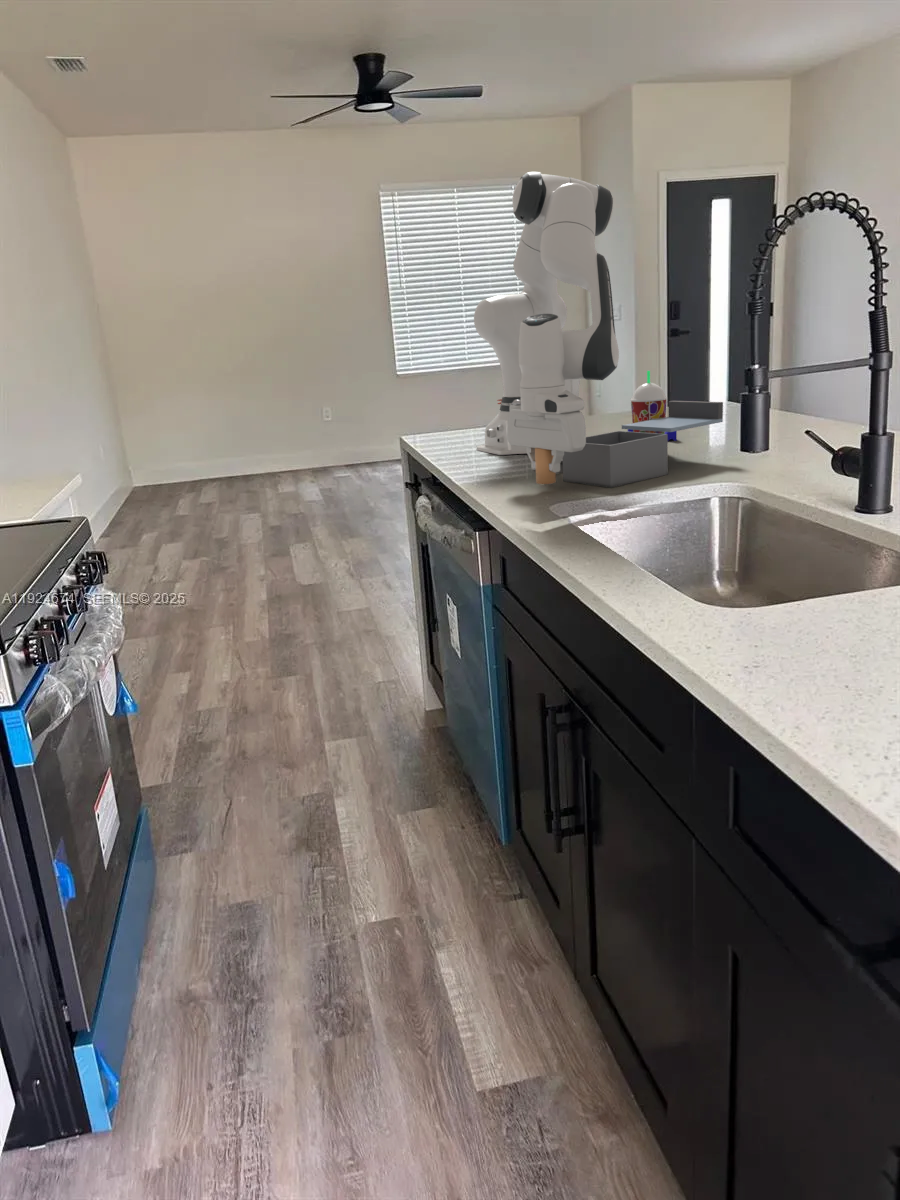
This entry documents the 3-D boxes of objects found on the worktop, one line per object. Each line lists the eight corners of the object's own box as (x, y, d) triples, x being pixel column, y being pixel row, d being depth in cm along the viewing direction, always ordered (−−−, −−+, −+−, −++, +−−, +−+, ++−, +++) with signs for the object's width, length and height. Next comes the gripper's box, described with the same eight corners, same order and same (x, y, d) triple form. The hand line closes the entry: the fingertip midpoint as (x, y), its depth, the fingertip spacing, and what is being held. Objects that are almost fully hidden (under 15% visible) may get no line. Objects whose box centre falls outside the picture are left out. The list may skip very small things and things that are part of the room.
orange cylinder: (532, 482, 176) (530, 448, 174) (546, 479, 179) (545, 445, 176) (545, 484, 173) (543, 449, 171) (560, 481, 175) (558, 447, 173)
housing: (563, 481, 186) (561, 441, 183) (619, 468, 195) (618, 430, 192) (610, 487, 175) (609, 445, 172) (667, 474, 184) (667, 434, 181)
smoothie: (670, 457, 205) (670, 370, 198) (635, 460, 205) (634, 373, 199) (662, 452, 212) (662, 368, 206) (628, 455, 213) (627, 371, 207)
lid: (621, 428, 193) (621, 409, 192) (672, 419, 202) (672, 400, 201) (670, 432, 182) (670, 411, 181) (722, 422, 191) (722, 402, 190)
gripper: (497, 400, 177) (501, 468, 182) (566, 404, 161) (568, 478, 166) (521, 397, 181) (524, 463, 185) (590, 400, 165) (592, 473, 169)
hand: (545, 470), depth 175 cm, fingers closed on orange cylinder, 4 cm apart
